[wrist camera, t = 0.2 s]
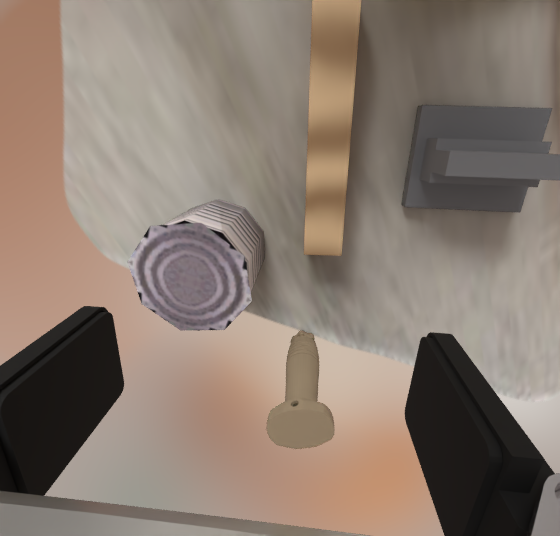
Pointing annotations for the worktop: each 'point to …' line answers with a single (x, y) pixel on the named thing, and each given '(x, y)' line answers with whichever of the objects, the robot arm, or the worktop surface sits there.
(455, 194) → the fulcrum stand
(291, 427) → the handle
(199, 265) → the can
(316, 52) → the oak batten
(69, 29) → the worktop surface
